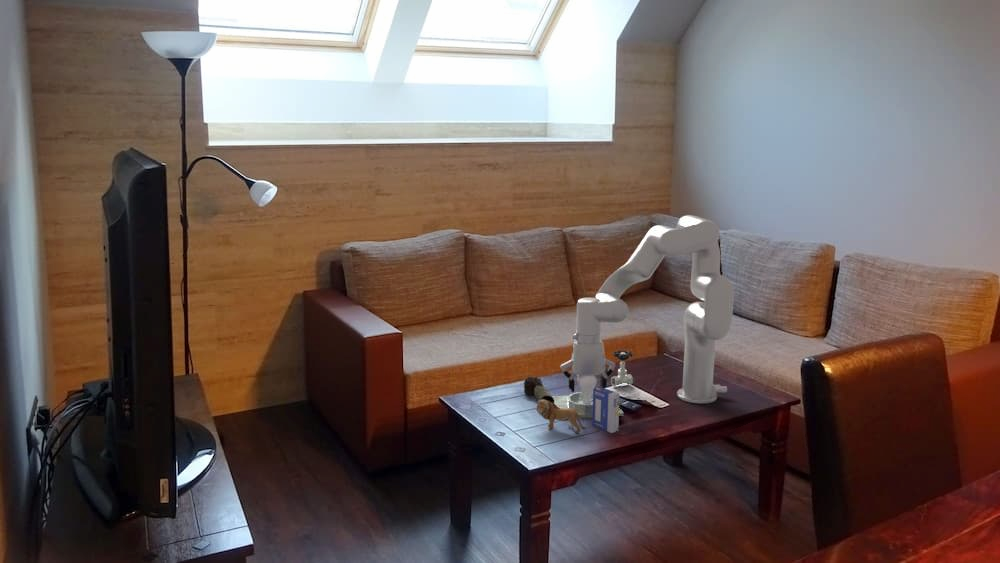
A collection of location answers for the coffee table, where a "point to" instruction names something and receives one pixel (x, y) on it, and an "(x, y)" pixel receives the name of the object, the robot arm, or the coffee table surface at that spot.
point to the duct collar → (577, 404)
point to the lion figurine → (558, 414)
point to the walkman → (605, 409)
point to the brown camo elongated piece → (536, 389)
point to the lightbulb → (587, 386)
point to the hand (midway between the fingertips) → (587, 390)
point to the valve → (622, 369)
